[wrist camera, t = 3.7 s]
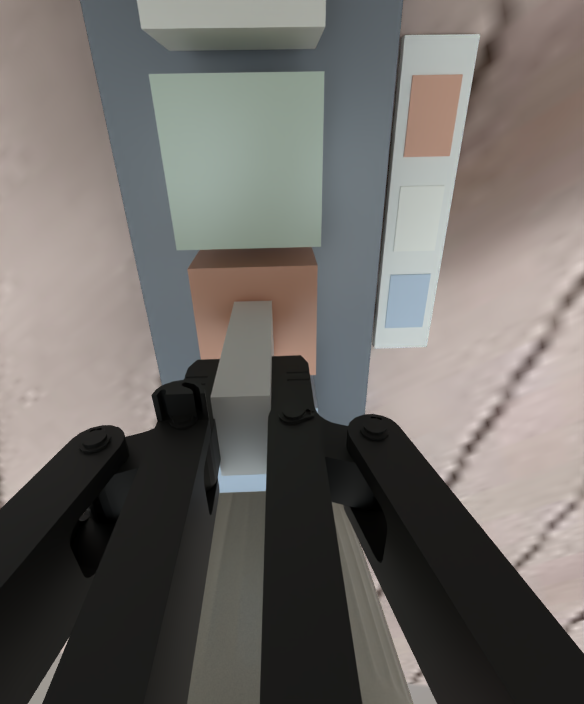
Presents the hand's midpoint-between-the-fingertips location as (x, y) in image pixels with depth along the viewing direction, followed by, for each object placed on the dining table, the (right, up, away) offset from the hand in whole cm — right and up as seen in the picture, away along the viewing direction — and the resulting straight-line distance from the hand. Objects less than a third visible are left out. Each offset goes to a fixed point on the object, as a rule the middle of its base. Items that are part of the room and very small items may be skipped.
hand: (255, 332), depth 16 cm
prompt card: (+8, +6, +4) cm, 11 cm away
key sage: (0, +7, -1) cm, 7 cm away
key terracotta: (0, +2, +3) cm, 4 cm away
